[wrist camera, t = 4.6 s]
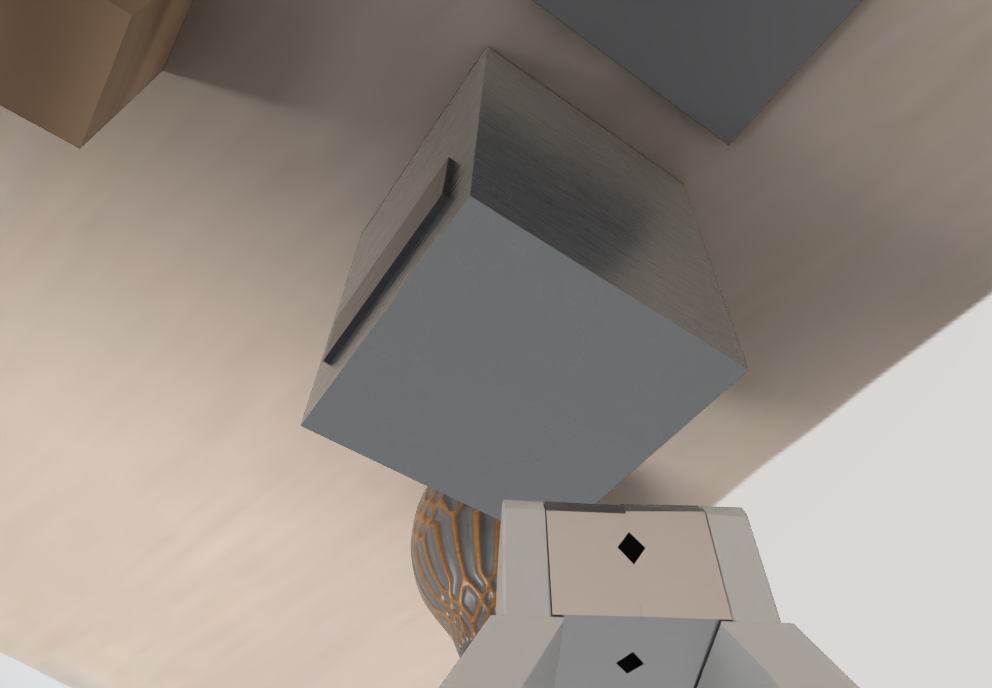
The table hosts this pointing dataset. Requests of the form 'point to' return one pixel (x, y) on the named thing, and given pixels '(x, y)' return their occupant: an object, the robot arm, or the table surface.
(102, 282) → the table surface
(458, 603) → the vase
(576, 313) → the block
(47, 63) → the walnut block
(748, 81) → the pad
